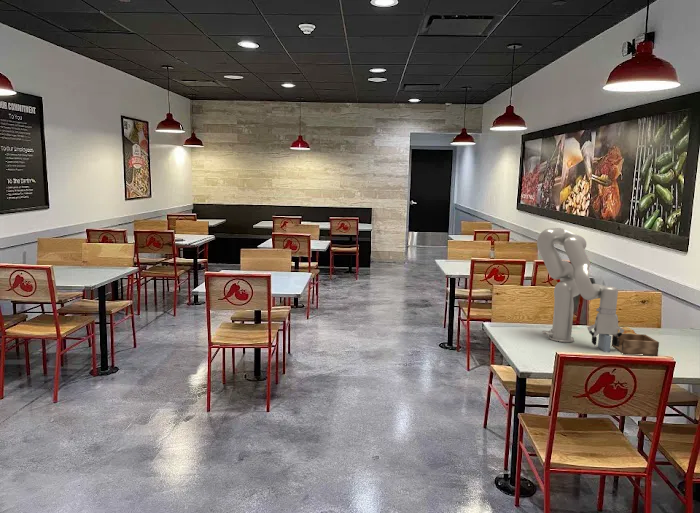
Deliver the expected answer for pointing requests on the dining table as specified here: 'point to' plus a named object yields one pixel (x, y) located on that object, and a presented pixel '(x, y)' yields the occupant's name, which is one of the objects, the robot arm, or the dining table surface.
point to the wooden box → (637, 344)
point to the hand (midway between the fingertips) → (604, 344)
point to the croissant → (627, 330)
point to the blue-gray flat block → (604, 342)
